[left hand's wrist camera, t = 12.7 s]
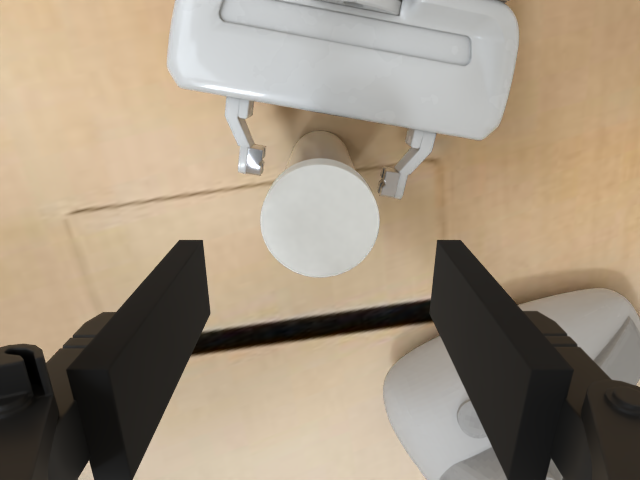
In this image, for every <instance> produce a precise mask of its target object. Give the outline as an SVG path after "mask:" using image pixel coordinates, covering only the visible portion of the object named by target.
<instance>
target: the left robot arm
mask: <svg viewBox="0 0 640 480" xmlns="http://www.w3.org/2000/svg"><path fill="white" fill-rule="evenodd" d="M209 315H210V305H209V295H208V286H207V276H206V267H205V257H204V247H203V240H179V241H178V242H177V243H176V245H175V246H174V247H173V248H172V249H171V250H170V251H169V253H168V254H167V255H166V256H165V257H164V258H163V259H162V261H161V262H160V263H159V264H158V265H157V266H156V267H155V269H154V270H153V271H152V272H151V273H150V274H149V275H148V277H147V278H146V279H145V280H144V281H143V282H142V283H141V285H140V286H139V287H138V288H137V289H136V290H135V291H134V293H133V294H132V295H131V296H130V297H129V298H128V299H127V301H126V302H125V303H124V304H123V305H122V306H121V307H120V309H119V310H118V311H117V312H103V313H101V314H99V315H98V316H96V317H94V318H93V319H91V320H89V321H87V322H86V323H84V324H83V326H82V327H81V328H80V329H79V330H78V331H77V332H76V333H75V334H74V335H73V338H70V339H69V340H68V341H67V342H66V343H65V344H64V345H63V348H60V349H59V350H58V351H57V352H56V353H55V355H54V356H53V357H52V358H51V359H50V360H49V361H48V362H47V363H46V362H45V359H44V355H43V351H42V350H41V349H40V348H39V347H37V346H36V345H29V344H17V345H8V346H4V347H0V480H78V477H79V476H80V474H81V472H82V471H83V469H84V467H85V466H86V464H87V463H88V461H90V465H91V469H92V473H93V477H94V480H133V478H134V476H135V473H136V471H137V469H138V467H139V465H140V463H141V461H142V458H143V456H144V454H145V452H146V450H147V448H148V446H149V444H150V441H151V439H152V437H153V435H154V433H155V431H156V429H157V426H158V424H159V422H160V420H161V418H162V416H163V414H164V411H165V409H166V407H167V405H168V403H169V401H170V399H171V397H172V394H173V392H174V390H175V388H176V386H177V384H178V382H179V379H180V377H181V375H182V373H183V371H184V369H185V367H186V365H187V362H188V360H189V358H190V356H191V354H192V352H193V350H194V347H195V345H196V343H197V341H198V339H199V337H200V335H201V332H202V330H203V328H204V326H205V324H206V322H207V320H208V318H209ZM430 315H431V318H432V320H433V322H434V324H435V326H436V328H437V330H438V332H439V335H440V337H441V339H442V341H443V343H444V345H445V347H446V350H447V352H448V354H449V356H450V358H451V360H452V362H453V365H454V367H455V369H456V371H457V373H458V375H459V377H460V379H461V382H462V384H463V386H464V388H465V390H466V392H467V394H468V397H469V399H470V401H471V403H472V405H473V407H474V409H475V411H476V414H477V416H478V418H479V420H480V422H481V424H482V426H483V429H484V431H485V433H486V435H487V437H488V439H489V441H490V444H491V446H492V448H493V450H494V452H495V454H496V456H497V458H498V461H499V463H500V465H501V467H502V469H503V471H504V473H505V476H506V478H507V480H546V477H547V473H548V469H549V465H550V461H551V459H552V460H553V462H554V464H555V465H556V467H557V469H558V470H559V472H560V473H561V475H562V477H563V478H562V480H640V387H638V386H636V385H633V384H629V383H626V382H623V381H618V380H612V379H611V378H610V377H609V376H608V375H607V374H606V373H605V372H604V371H603V370H602V369H601V368H600V367H599V366H598V365H597V364H596V363H595V362H594V361H593V360H592V359H591V358H590V357H589V356H588V355H587V354H586V353H585V351H584V350H583V349H582V348H581V347H578V346H577V343H576V342H575V341H574V340H573V339H572V338H571V337H570V336H567V333H566V332H565V331H564V330H563V329H562V328H561V327H560V326H559V325H558V324H557V323H556V322H555V321H554V320H552V319H550V318H548V317H547V316H545V315H543V314H542V313H540V312H538V311H522V310H521V309H520V307H519V306H518V305H517V304H516V303H515V302H514V301H513V299H512V298H511V297H510V296H509V295H508V294H507V293H506V291H505V290H504V289H503V288H502V287H501V286H500V285H499V283H498V282H497V281H496V280H495V279H494V278H493V277H492V275H491V274H490V273H489V272H488V271H487V270H486V269H485V267H484V266H483V265H482V264H481V263H480V262H479V261H478V259H477V258H476V257H475V256H474V255H473V254H472V253H471V251H470V250H469V249H468V248H467V247H466V246H465V245H464V243H463V242H462V241H461V240H437V247H436V257H435V266H434V276H433V286H432V295H431V305H430Z"/></svg>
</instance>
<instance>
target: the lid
mask: <svg viewBox="0 0 640 480" xmlns="http://www.w3.org/2000/svg"><path fill="white" fill-rule="evenodd" d="M260 224H261V232H262V235H263V239H264V241H265V244H266V246H267V247H268V249H269V251H270V252H271V254H272V255H273V256H274V257H275V258H276V259H277V260H278V261H279V262H280V263H281V264H282V265H284V266H285V267H286V268H288V269H290V270H291V271H294V272H296V273H298V274H301V275H305V276H310V277H330V276H335V275H339V274H342V273H344V272H346V271H349V270H350V269H352V268H354V267H355V266H356V265H358V264H359V263H360V262H361V261H362V260H363V259H364V258H365V257H366V256H367V255H368V254H369V252H370V251H371V249H372V247H373V246H374V244H375V241H376V239H377V236H378V232H379V224H380V219H379V210H378V206H377V203H376V200H375V198H374V196H373V194H372V191H371V189H370V187H369V185H368V184H367V182H366V181H365V180H364V178H363V177H362V176H361V175H360V174H359V173H358V172H357V171H355V170H354V169H353V168H351V167H350V166H348V165H346V164H344V163H342V162H339V161H336V160H331V159H324V158H316V159H309V160H304V161H301V162H298V163H296V164H294V165H292V166H290V167H289V168H287V169H286V170H285V171H283V172H282V173H281V174H280V175H279V176H278V177H277V178H276V180H275V181H274V182H273V184H272V186H271V187H270V189H269V191H268V194H267V196H266V198H265V200H264V203H263V206H262V210H261V218H260Z"/></svg>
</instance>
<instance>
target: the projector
mask: <svg viewBox="0 0 640 480" xmlns="http://www.w3.org/2000/svg"><path fill="white" fill-rule="evenodd" d="M518 306H519V307H520V309H521V310H522V311H538V312H540V313H542V314H543V315H545V316H547V317H548V318H550V319H552V320H554V321H555V322H556V323H557V324H558V325H559V326H560V327H561V328H562V329H563V330H564V331H565V332H566V333H567V336H570V337H571V338H572V339H573V340H574V341H575V342H576V343H577V346H578V347H581V348H582V349H583V350H584V351H585V353H586V354H587V355H588V356H589V357H590V358H591V359H592V360H593V361H594V362H595V363H596V364H597V365H598V366H599V367H600V368H601V369H602V370H603V371H604V372H605V373H606V374H607V375H608V376H609V377H610V378H611V379H612V380H618V381H623V382H626V383H629V384H633V385H636V384H637V382H638V381H639V379H640V319H639V316H638V314H637V312H636V310H635V309H634V307H633V306H632V304H631V303H630V302H629V301H628V300H627V299H626V298H625V297H624V296H622V295H621V294H619V293H617V292H615V291H613V290H610V289H605V288H592V289H584V290H578V291H572V292H567V293H562V294H558V295H553V296H549V297H545V298H541V299H537V300H533V301H530V302H526V303H523V304H519V305H518ZM383 398H384V404H385V408H386V412H387V415H388V418H389V421H390V423H391V425H392V428H393V430H394V432H395V433H396V435H397V437H398V439H399V440H400V442H401V444H402V445H403V447H404V449H405V450H406V452H407V453H408V455H409V456H410V458H411V459H412V461H413V462H414V463H415V464H416V465H417V467H418V468H419V470H420V471H421V473H422V474H423V476H424V477H425V478H426V479H427V480H507V478H506V476H505V473H504V471H503V469H502V467H501V465H500V463H499V461H498V458H497V456H496V454H495V452H494V450H493V448H492V446H491V444H490V441H489V439H488V437H487V435H486V433H485V431H484V429H483V426H482V424H481V422H480V420H479V418H478V416H477V414H476V411H475V409H474V407H473V405H472V403H471V401H470V399H469V397H468V394H467V392H466V390H465V388H464V386H463V384H462V382H461V379H460V377H459V375H458V373H457V371H456V369H455V367H454V365H453V362H452V360H451V358H450V356H449V354H448V352H447V350H446V347H445V345H444V343H443V341H442V339H441V337H440V336H438V337H436V338H434V339H432V340H430V341H428V342H426V343H424V344H422V345H420V346H419V347H417V348H415V349H414V350H412V351H410V352H409V353H407V354H406V355H404V356H403V357H402V358H401V359H399V360H398V361H397V362H396V363H395V364H394V365H393V366H392V367H391V369H390V370H389V372H388V373H387V375H386V378H385V381H384V386H383ZM562 478H563V477H562V475H561V473H560V472H559V470H558V469H557V467H556V465H555V464H554V462H553V460H552V459H551V461H550V465H549V469H548V473H547V477H546V480H562Z"/></svg>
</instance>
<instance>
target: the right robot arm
mask: <svg viewBox="0 0 640 480" xmlns="http://www.w3.org/2000/svg"><path fill="white" fill-rule="evenodd" d="M507 1H509V0H175V4H174V9H173V14H172V20H171V27H170V34H169V42H168V53H167V68H168V71H169V73H170V74H171V76H172V78H173V79H174V81H175V82H176V84H177V85H178V86H179V87H180V88H182V89H188V90H193V91H199V92H205V93H210V94H216V95H222V96H227V98H226V109H225V117H226V119H227V121H228V124H229V126H230V128H231V130H232V133H233V135H234V137H235V139H236V142H237V144H238V146H240V154H239V164H238V172H239V173H244V174H251V175H258V176H261V174H262V173H263V168H264V161H263V158H264V157H265V152H266V146H262V145H257V144H254V141H253V138H252V136H251V133H250V131H249V128H248V126H247V123H246V121H245V119H246V118H248V117H250V116H252V115H253V107H254V101H256V102H262V103H267V104H273V105H279V106H284V107H290V108H296V109H302V110H307V111H313V112H319V113H324V114H330V115H336V116H341V117H347V118H353V119H359V120H364V121H370V122H376V123H381V124H387V125H393V126H398V127H404V128H408V130H407V134H406V139H405V142H406V144H408V145H409V146H411V148H410V149H409V150H408V151H407V153H406V154H405V155H404V156H403V157H402V158H401V159H400V161H399V162H398V163H397V164H396V165H395V166H394V168H393V167H386V166H382V170H381V178H382V179H381V180H380V181H379V184H378V193H379V195H380V196H384V197H390V198H396V199H401V198H402V196H403V193H404V189H405V185H406V181H407V177H408V174H409V175H410V174H411V173H412V172H413V171H414V170H415V169H416V168H417V167H418V166H419V165H420V164H421V162H422V161H423V160H424V159H425V158H426V157H427V156H428V155H429V154H430V153H431V152H432V148H433V145H434V141H435V137H436V133H438V134H444V135H450V136H455V137H461V138H467V139H473V140H478V141H479V140H483V139H484V138H486V137H487V136H488V135H490V134H491V133H492V132H493V131H494V130H495V129H496V128H497V127H498V126H499V124H500V122H501V119H502V117H503V114H504V110H505V107H506V104H507V100H508V96H509V92H510V88H511V84H512V79H513V74H514V70H515V64H516V59H517V53H518V46H519V26H518V22H517V18H516V16H515V14H514V12H513V11H512V10H511V9H510V7H509V6H507V5H506V4H505V2H507Z"/></svg>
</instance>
